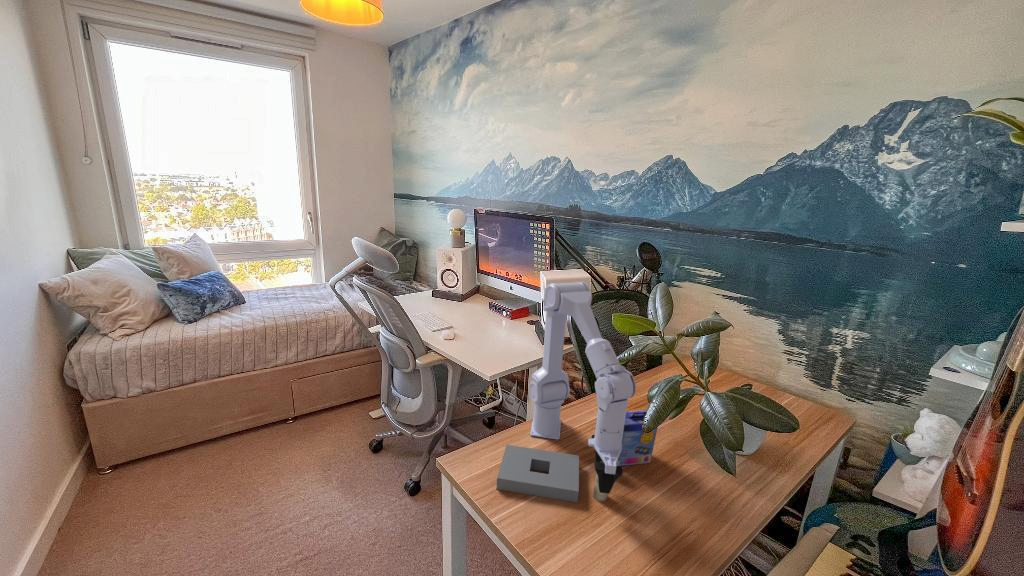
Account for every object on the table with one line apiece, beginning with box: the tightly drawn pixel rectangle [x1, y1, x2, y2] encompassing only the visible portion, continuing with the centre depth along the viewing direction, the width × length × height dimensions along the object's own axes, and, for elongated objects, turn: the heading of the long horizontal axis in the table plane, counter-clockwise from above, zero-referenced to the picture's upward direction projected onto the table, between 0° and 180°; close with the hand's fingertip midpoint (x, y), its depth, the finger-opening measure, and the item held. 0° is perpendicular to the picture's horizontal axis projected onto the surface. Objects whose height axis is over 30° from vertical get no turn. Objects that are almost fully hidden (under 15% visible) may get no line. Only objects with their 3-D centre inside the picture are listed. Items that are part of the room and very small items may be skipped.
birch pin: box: [592, 472, 608, 503], centre depth 91 cm, size 3×3×8 cm
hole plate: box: [496, 444, 580, 504], centre depth 96 cm, size 12×18×3 cm, turn 81°
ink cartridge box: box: [619, 409, 659, 467], centre depth 103 cm, size 10×6×14 cm, turn 103°
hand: (602, 479), depth 91 cm, fingers open, 7 cm apart
